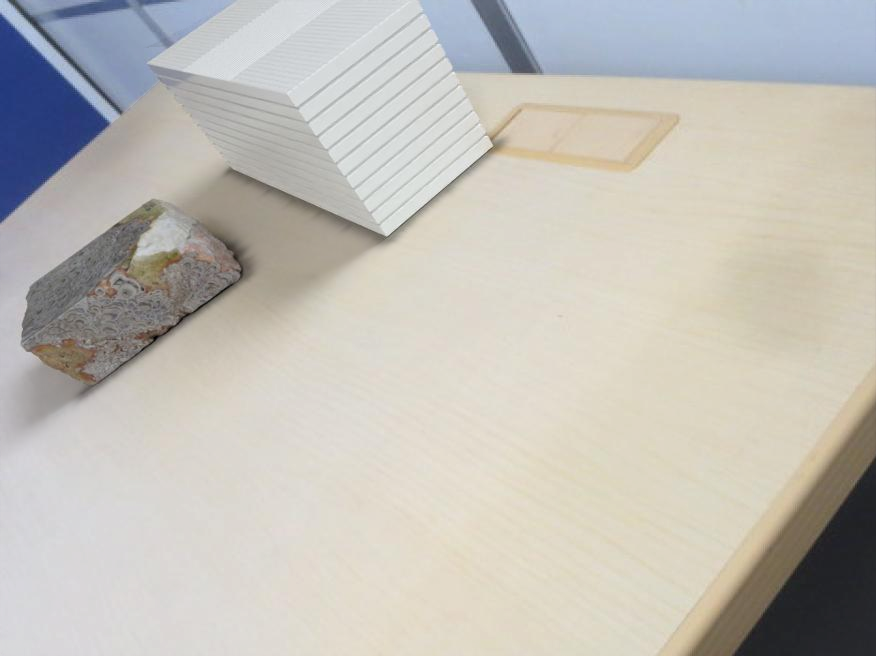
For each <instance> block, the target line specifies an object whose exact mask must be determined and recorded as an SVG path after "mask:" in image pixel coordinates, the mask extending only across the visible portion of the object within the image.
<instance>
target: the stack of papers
mask: <svg viewBox="0 0 876 656" xmlns="http://www.w3.org/2000/svg"><path fill="white" fill-rule="evenodd" d="M423 12H424V9H423V7H422V4H421V3H420V0H235V1H234V2H232V3H231V4H230V5H228V6H226V8H224V9H222V10H221V11H219V12H218V13H216V14H215V15H214V16H212V17H211V18H210V19H208V20H206V21H205V22H203V23H202V24H201V25H199V26H198V27H196V28H195V29H194V30H192V31H190V32H189V33H188V34H186V35H185V36H183V37H182V38H181V39H178V40H177V41H176V42H175V43H173V44H172V45H170V46H169V47H168V48H166V49H164V51H162V52H161V53H159V54H157V55H155V57H153V58H151V60H149V61H147V62H146V65H147V67H149V69H150V70H151V72H152V73H153V74H156V77H157V79H158V80H159V81H160V83H161V84H163V85H164V87H165V88H166V90H167V91H168V92H169V93H170V94H171V95H173V96H172V97H173V98H174V99H175V101H176V102H177V104H179V105H180V107H181V108H182V109H183V110H184V112H185V113H186V114H188V115H189V118H190V119H191V120H192V121H193V123H194V124H196V127H197V128H198V129H199V130H200V131H201V132H202V133H203V134H204V136H205V137H206V139H207V140H208V141H209V142H210V143H212V146H213V147H214V148H215V150H216V151H218V152H219V154H220V156H221V157H222V158H223V159H224V160H225V161H226V163H227V164H228V165H229V166H230V168H231V169H232V170H234V171H236V172H238V173H239V174H240V173H241V174H242V175H245V176H248V177H250V178H252V179H254V180H257V181H258V182H261V183H263V184H265V185H268V186H270V187H272V188H274V189H277V190H280V191H281V192H284V193H286V194H288V195H290V196H293V197H295V198H298V199H300V200H302V201H304V202H307V203H309V204H311V205H313V206H316V207H318V208H320V209H322V210H324V211H326V212H329V213H331V214H334V215H335V216H338V217H341V218H343V219H345V220H347V221H350V222H352V223H355V224H357V225H359V226H361V227H364V228H366V229H368V230H370V231H373V232H375V233H376V234H379V235H381V236H384V237H386V238H387V237H388V236H390V235H391V234H392V233H393V232H394V231H396V230H397V229H398V228H400V226H402V224H404V223H405V222H406V221H407V220H409V218H411V217H412V216H414V215H415V214H416V213H417V212H418V211H419V210H420V209H422V207H424V206H425V205H426V204H427V203H428V202H429V201H431V200H432V199H433V198H434V197H435V196H437V195H438V194H439V193H441V191H443V189H445V188H446V187H447V186H448V185H450V184H451V183H452V182H453V181H454V180H455V179H457V177H459V176H460V175H461V174H462V173H464V172H465V171H466V170H467V169H468V168H470V166H472V165H473V164H474V163H475V162H476V161H478V160H479V159H480V158H482V156H484V155H485V154H486V153H488V151H489V150H490V149H491V148H493V147H494V145H493V143H492V140H491V139H490V137H489V135H486V133H487V131H486V129H485V127H484V125H483V123H479V122H480V121H481V119H480V118H479V116H478V113H477V111H475V110H473V109H474V106H473V104H472V102H471V100H470V98H469V97H468V98H467V96H468V94H467V92H466V90H465V88H464V87H463V85H461V84H460V83H461V80H460V79H459V76H458V74H457V72H456V71H452V70H453V69H454V67H453V65H452V63H451V61H450V59H449V58H448V57H446V55H447V53H446V52H445V49H444V47H443V45H442V44H441V43H438V42H439V40H440V39H439V38H438V35H437V34H436V32H435V30H434V29H431V28H430V27H432V24H431V22H430V20H429V18H428V16H427V14H423Z"/></svg>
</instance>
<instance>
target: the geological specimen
mask: <svg viewBox="0 0 876 656" xmlns="http://www.w3.org/2000/svg"><path fill="white" fill-rule="evenodd" d="M241 271H242V267H241V265H240V263H239V262H238V261H237V260H236V259H235V252H234V251H232V250H230V249H228V248H227V245H226V244H225V243H224V242H223V241H222V240H221V239H219V238H217V237H214V236H213V234H212V233H211V232H210V231H209V229H208V228H206V226H204V224H202V223H201V222H200V221H199V220H198V219H196V218H194V217H192V216H190V215H189V214H187V213H186V212H184V211H182V210H181V207H179V206H177V205H176V204H173V203H172V202H169V201H165V200H163V199H157V198H151V199H149V200H148V201H147V202H145V203H143V204H142V205H141V206H139V207H138V208H136V209H135V210H133V211H132V212H131V213H129V214H127V215H126V216H125V217H123V218H122V219H120V220H119V221H118V222H116V223H115V224H114V225H112V226H111V227H109V228H108V229H107V230H106V231H105V232H103V233H101V234H100V235H98V236H97V237H95V238H94V239H92V240H91V241H90V242H88V243H87V244H85V245H84V246H83V247H82V248H80V249H79V250H78V251H76V252H75V253H73V254H72V255H71V256H69V257H68V258H67V259H65V260H64V261H62V262H61V263H59V264H58V265H57V266H55V267H54V268H52V269H51V270H49V271H48V272H47V273H45V274H44V275H43V276H41V277H40V278H38V279H37V280H36V281H34V282H33V283H32V284H31V285H29V288H28V289H29V290H28V291H27V294H26V296H25V300H26V306H27V307H26V309H25V312H24V316H23V318H22V319H23V320H22V322H21V328H22V330H21V336H20V337H21V340H20V347H21V348H23V350H24V351H25V352H27V353H31V354H33V355H34V356H36V357H38V359H39V360H40V361H42V363H43V364H44V365H46V366H48V367H50V368H52V369H53V370H55V371H60V372H61V373H63V374H65V375H67V376H69V377H71V378H72V379H74V380H77V381H79V382H81V383H82V384H85V385H88V386H94V385H97V384H99V383H100V382H101V381H103V380H104V379H105V378H106V377H108V376H109V375H110V374H112V373H113V372H115V371H116V370H117V369H118V368H120V367H121V366H122V365H124V363H126V362H128V361H130V360H131V359H133V357H135V356H137V355H138V354H139V353H140V352H141V351H142V350H143V349H144V348H145V347H147V346H149V345H150V344H151V343H153V341H154V338H155V337H158V336H162V335H163V334H166V333H167V332H168V331H169V329H170V328H172V327H175V326H176V325H177V324H178V323H179V322H180V321H181V319H182V318H184V317H185V316H186V315H188V314H192V313H193V312H195V311H196V310H197V309H199V307H201V306H202V305H204V304H206V303H207V302H208V301H210V300H211V299H213V298H214V297H215V296H217V295H218V294H219V293H221V292H222V291H223V290H224V289H226V288H228V287H229V286H231V285H232V284H235V283H238V282H239V281H240V278H241Z"/></svg>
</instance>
